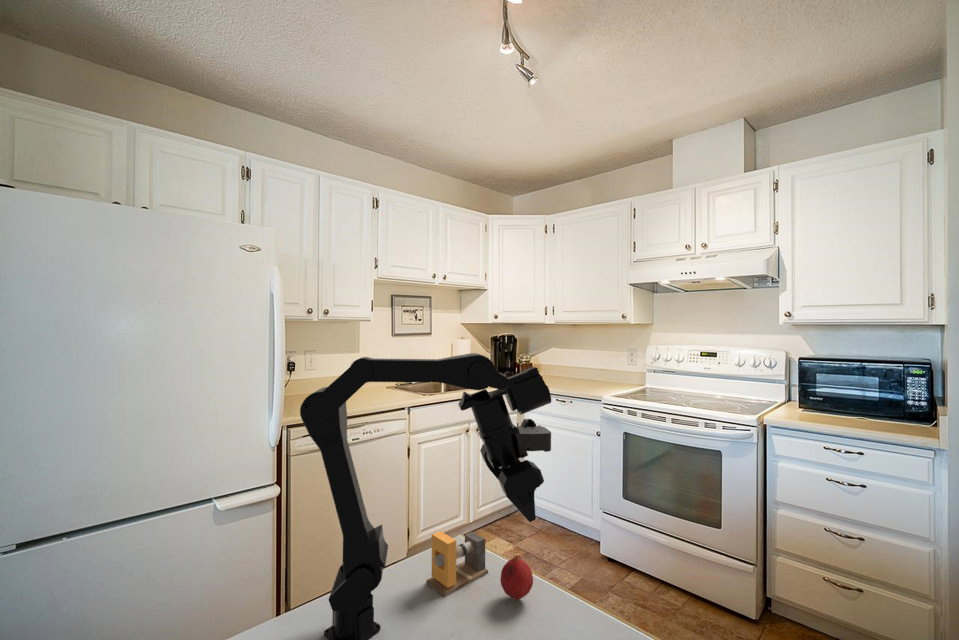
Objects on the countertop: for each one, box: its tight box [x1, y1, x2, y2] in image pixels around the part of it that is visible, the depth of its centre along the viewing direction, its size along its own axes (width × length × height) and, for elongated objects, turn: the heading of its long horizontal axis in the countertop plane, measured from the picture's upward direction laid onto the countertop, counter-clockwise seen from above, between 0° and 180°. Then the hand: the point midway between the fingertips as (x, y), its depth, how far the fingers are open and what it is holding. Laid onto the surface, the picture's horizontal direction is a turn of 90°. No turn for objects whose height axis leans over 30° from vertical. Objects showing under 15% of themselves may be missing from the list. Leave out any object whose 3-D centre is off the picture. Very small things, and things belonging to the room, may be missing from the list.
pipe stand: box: [425, 531, 489, 597], centre depth 83 cm, size 11×6×6 cm, turn 133°
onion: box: [500, 553, 534, 601], centre depth 76 cm, size 6×6×8 cm
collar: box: [431, 531, 457, 588], centre depth 80 cm, size 2×5×8 cm, turn 43°
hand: (523, 508), depth 73 cm, fingers open, 9 cm apart
